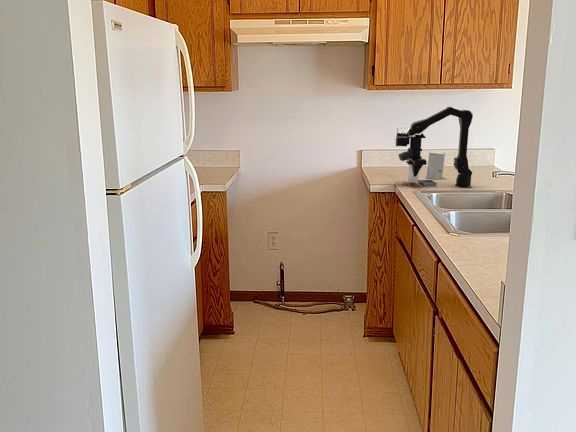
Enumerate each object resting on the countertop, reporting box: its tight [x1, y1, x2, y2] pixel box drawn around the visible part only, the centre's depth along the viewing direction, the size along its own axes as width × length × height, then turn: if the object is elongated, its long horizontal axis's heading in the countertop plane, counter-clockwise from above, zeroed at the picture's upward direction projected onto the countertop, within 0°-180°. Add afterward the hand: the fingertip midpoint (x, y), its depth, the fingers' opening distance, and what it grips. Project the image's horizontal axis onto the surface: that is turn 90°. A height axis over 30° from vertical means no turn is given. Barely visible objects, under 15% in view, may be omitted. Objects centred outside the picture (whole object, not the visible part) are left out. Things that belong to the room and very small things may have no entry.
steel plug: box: [407, 164, 420, 183], centre depth 297 cm, size 4×4×9 cm
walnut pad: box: [403, 181, 423, 187], centre depth 299 cm, size 7×7×1 cm
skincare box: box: [425, 151, 446, 180], centre depth 318 cm, size 8×6×15 cm
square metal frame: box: [417, 179, 438, 187], centre depth 300 cm, size 7×8×2 cm
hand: (413, 175), depth 298 cm, fingers closed on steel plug, 4 cm apart
